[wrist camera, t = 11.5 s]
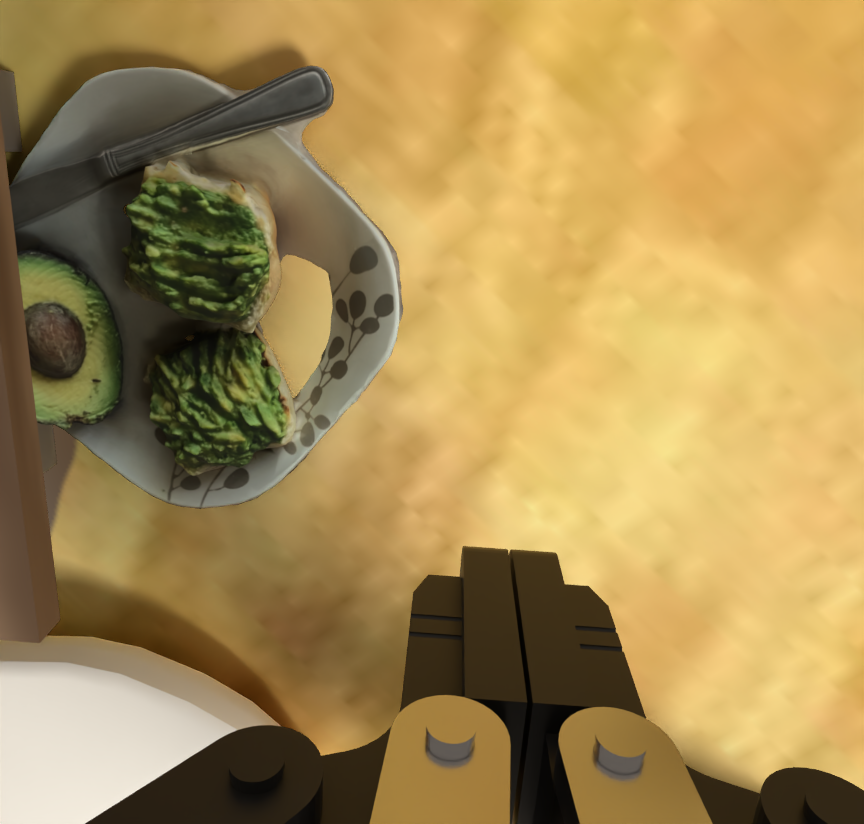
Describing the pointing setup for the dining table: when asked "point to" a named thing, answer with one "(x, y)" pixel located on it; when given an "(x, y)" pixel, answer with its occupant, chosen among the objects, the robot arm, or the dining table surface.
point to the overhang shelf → (20, 435)
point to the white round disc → (100, 724)
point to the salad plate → (192, 279)
